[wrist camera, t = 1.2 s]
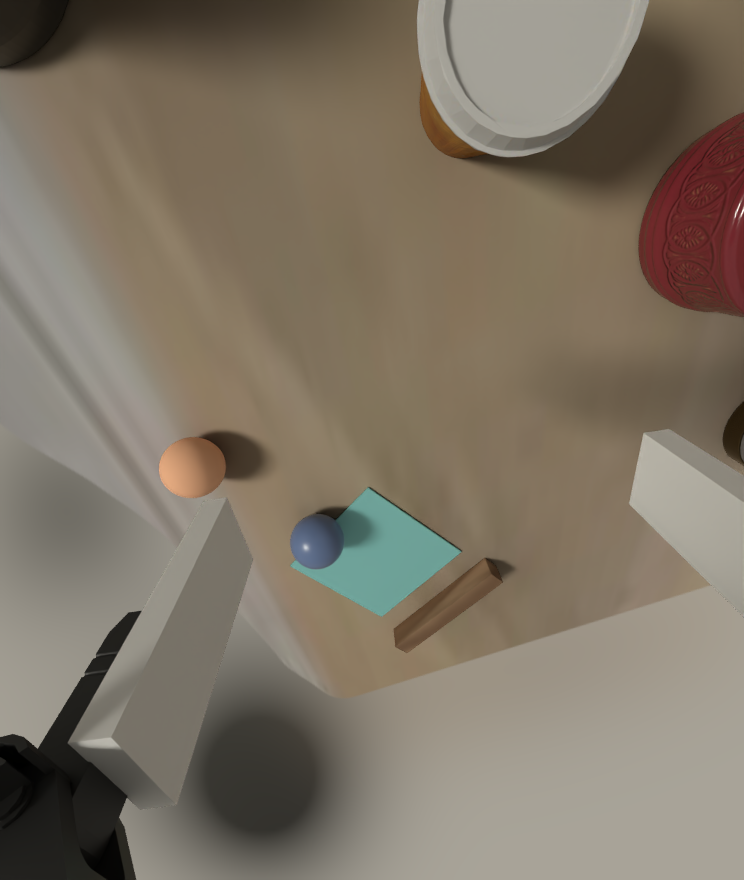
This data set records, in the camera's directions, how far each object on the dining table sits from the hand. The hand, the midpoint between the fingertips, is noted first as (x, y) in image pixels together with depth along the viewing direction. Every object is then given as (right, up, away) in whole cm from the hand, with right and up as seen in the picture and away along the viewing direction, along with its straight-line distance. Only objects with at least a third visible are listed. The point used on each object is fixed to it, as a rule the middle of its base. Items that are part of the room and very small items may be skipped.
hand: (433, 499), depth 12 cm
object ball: (-8, -8, +27) cm, 29 cm away
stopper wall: (+7, -18, +35) cm, 40 cm away
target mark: (-2, -12, +32) cm, 34 cm away
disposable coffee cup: (+4, +25, +13) cm, 29 cm away
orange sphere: (-18, -1, +22) cm, 29 cm away
